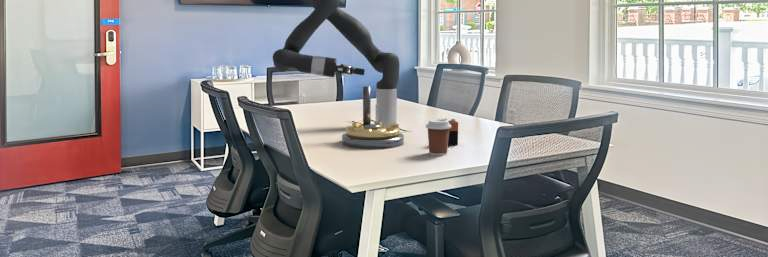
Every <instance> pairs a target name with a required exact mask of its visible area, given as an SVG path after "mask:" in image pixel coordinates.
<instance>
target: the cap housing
mask: <svg viewBox="0 0 768 257" xmlns="http://www.w3.org/2000/svg"><path fill="white" fill-rule="evenodd" d="M404 139H405V136H404V134H403V133H401V132H400V136H398V137H395V138H389V139H356V138H351V137H348V136H346V132H345V133H343V134H342V135H341V144H342V145H343V146H345V147H348V148H352V149H362V150H363V149H364V150H381V149H392V148H398V147H401V146H403V145H404V142H405V140H404Z"/></svg>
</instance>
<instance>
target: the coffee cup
mask: <svg viewBox="0 0 768 257" xmlns="http://www.w3.org/2000/svg"><path fill="white" fill-rule="evenodd" d="M444 119H445V118H436V119H435V118H434V119H429V120H428V123H427V124H425V128H426V129H427V139H428V152H429V153H428V154H429V155H431V156H446V155H448V146H449V145H448V139H449V129H450V128H451V125H450V124H449V121H450V120H448V119H447V120H444Z"/></svg>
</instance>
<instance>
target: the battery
mask: <svg viewBox="0 0 768 257" xmlns="http://www.w3.org/2000/svg"><path fill="white" fill-rule="evenodd" d="M443 119H444V120H448V118H443ZM448 121H449V124H450V125H451V128H450V129H449V139H448V146H458V143H459V121H457V120H456V119H455V118H451V119H450V120H448Z"/></svg>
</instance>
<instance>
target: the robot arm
mask: <svg viewBox="0 0 768 257" xmlns="http://www.w3.org/2000/svg"><path fill="white" fill-rule="evenodd" d="M340 1H341V0H310V4H311V6H312V8H313V9H314V10H313V11H312V12H311V13H310V14H309V15H308V16H307V17H306V18H305V19H303V20H302V21H301V22H300V23H299V24H298V25H297V26H296V27H295V28H294V29H292V32H290V34H289V35H288V37H287V38H286V39H285V42H284V46H283V48H281V49H277V50H276V51H274V52H273V53H272V62H273V67H274V68H275V70H277V71H278V72H281V73H283V72H287V71H289V69H291V68H293V69H296V70H297V71H298V72H300V73H303V74H312V75H315V76H322V77H329V78H335V77H336V76H335V75H336V72H337V73H339V74H340V75H359V76H364V75H365V70H366V69H364V68H359V67H355V66H352V65H348V64H345V63H340V64H337V63H338V62H337V61H338V59H337V58H336V57H335V58H334V57H330V56H329V57H327V56H323V55H322V56H321V55H310V54H303V53H302V54H301V53H300V51H301V50H302V49H303V48H304V47H305V45H306V44H307V42H308V41H309V40H310V39H311V37H312V35H313V34H315V32H316V31H317V30H318V28H319V27H320V26H321V25H322V24H323V23H325V21H326V20H327V21H328V22H330V24H331V25H332V26H333V27H334V28H335V29H336V30H337V31H338V32H339V33H340V34H341V35H342V36H343V37H344V38H345V39H346V40H347V41H348V42H349V43H350V44H351V45H352V46H353V47H354V48H355V49H356V50H357V51H358V52H359V53H360V54H361V55H362V56H364V58H365V59H366V61H368V63H369V64H370V65H371V67H372V68H373V69H374V70H375V71H377V72H378V73H380V74H382V77H381V79H380V80H379V81H377V82H376V85H375V86H376V92H375V93H376V100H375V101H376V102H375V103H376V104H375V122H376V121H379V122H382V124H383V125H391V124H398V123H397V121H398V118H397V117H398V115H397V113H398V112H397V111H398V109H397V108H398V104H397V103H398V84H399V81H400V80H399V79H400V78H399V77H400V60H399V57H398V55H397V54H396V53H395V52H394V53H393V52H384V51H382V50H380V49H379V48H378V47H377V46H376V45H375V44H374V42H373V40H372V35H371V33H370V32H369V30H368V29H367V27H366V26H365V25H363V23H362V22H360V21H359V20H358V19H356V18H355V17H354V16H352V15H350V14H349V13H347V12H345V11H344V10H342V9H341V8H340V7H339V6H340Z"/></svg>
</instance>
